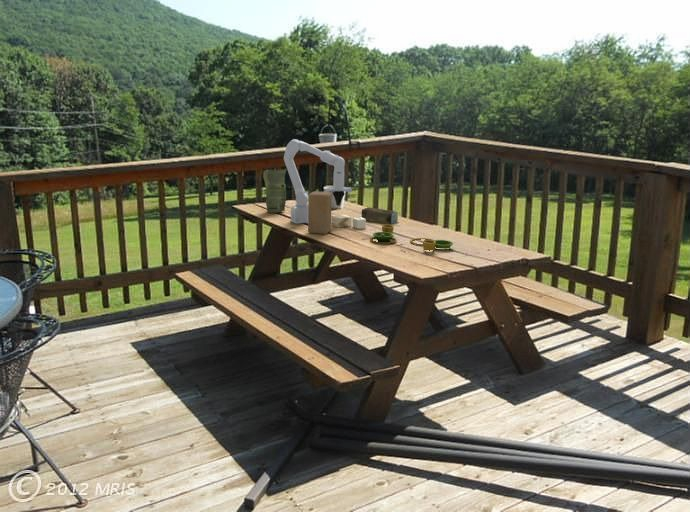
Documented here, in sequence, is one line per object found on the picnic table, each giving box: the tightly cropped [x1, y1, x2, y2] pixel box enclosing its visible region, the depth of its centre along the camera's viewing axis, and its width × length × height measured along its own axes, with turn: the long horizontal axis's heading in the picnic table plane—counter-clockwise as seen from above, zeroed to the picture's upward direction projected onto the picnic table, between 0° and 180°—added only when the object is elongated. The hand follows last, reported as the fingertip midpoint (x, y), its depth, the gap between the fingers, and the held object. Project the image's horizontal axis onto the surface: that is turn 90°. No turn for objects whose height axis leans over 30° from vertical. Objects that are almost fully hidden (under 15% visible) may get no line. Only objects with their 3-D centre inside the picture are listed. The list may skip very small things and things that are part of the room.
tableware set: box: [363, 224, 454, 251], centre depth 317 cm, size 41×28×6 cm
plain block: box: [331, 214, 353, 228], centre depth 354 cm, size 8×8×5 cm
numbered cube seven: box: [352, 216, 367, 229], centre depth 349 cm, size 5×5×5 cm
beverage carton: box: [361, 206, 399, 225], centre depth 367 cm, size 8×19×7 cm, turn 59°
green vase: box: [262, 168, 288, 214], centre depth 383 cm, size 11×12×25 cm
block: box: [307, 190, 333, 235], centre depth 335 cm, size 10×10×20 cm
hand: (338, 205), depth 358 cm, fingers closed
